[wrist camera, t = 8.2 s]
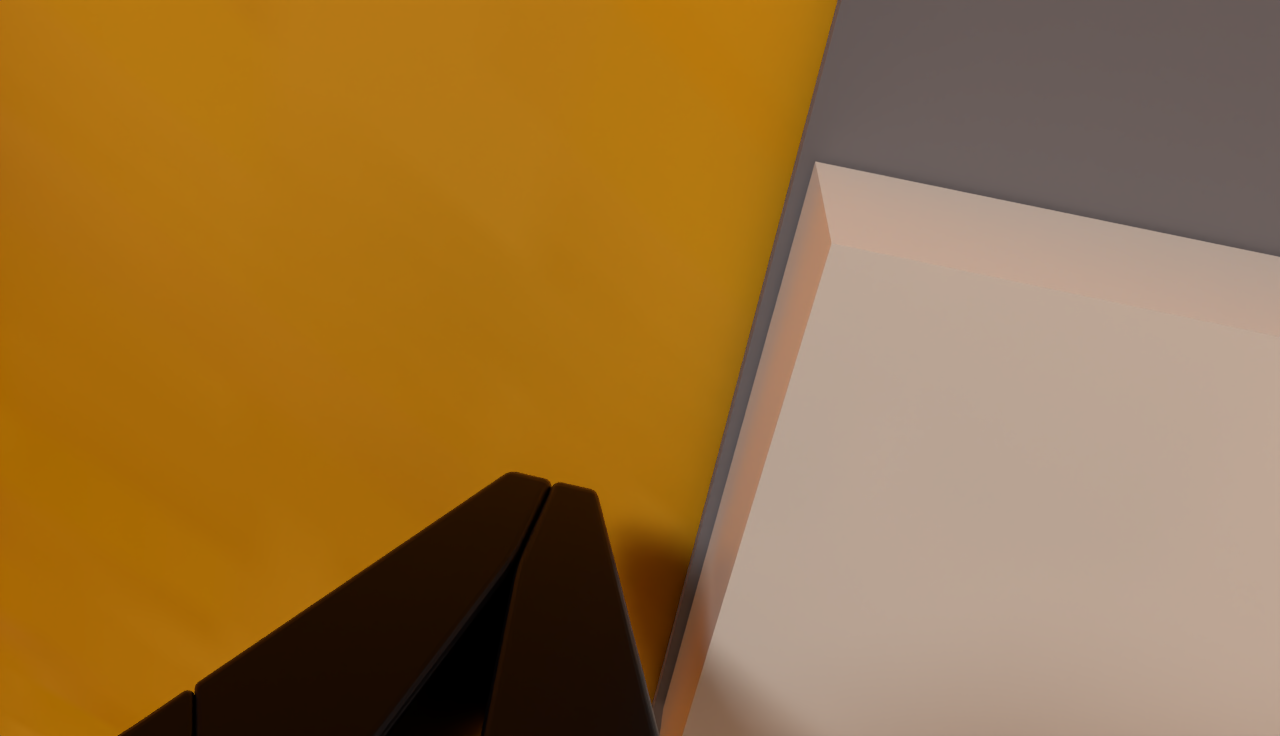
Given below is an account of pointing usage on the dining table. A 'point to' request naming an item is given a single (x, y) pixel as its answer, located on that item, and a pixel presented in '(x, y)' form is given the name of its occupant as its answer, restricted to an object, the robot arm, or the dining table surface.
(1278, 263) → the block
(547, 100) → the dining table surface
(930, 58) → the mat
